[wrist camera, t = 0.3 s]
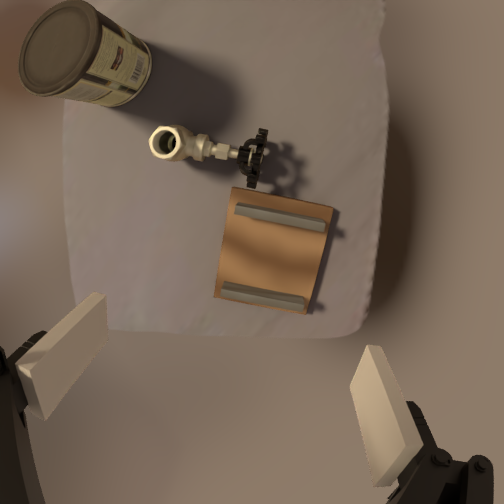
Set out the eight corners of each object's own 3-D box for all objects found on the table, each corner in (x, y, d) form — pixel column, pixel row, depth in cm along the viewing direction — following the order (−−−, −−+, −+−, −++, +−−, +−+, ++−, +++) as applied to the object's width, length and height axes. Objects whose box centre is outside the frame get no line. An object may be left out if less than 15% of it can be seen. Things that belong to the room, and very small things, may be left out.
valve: (161, 167, 38) (257, 185, 38) (141, 170, 32) (253, 192, 32) (171, 115, 36) (268, 131, 36) (152, 109, 30) (267, 127, 30)
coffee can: (82, 51, 34) (18, 27, 20) (148, 26, 32) (97, -17, 19) (88, 117, 37) (18, 111, 23) (157, 95, 35) (101, 72, 22)
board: (233, 186, 38) (228, 190, 35) (331, 206, 38) (337, 212, 35) (215, 293, 42) (210, 305, 39) (305, 310, 42) (307, 324, 39)
